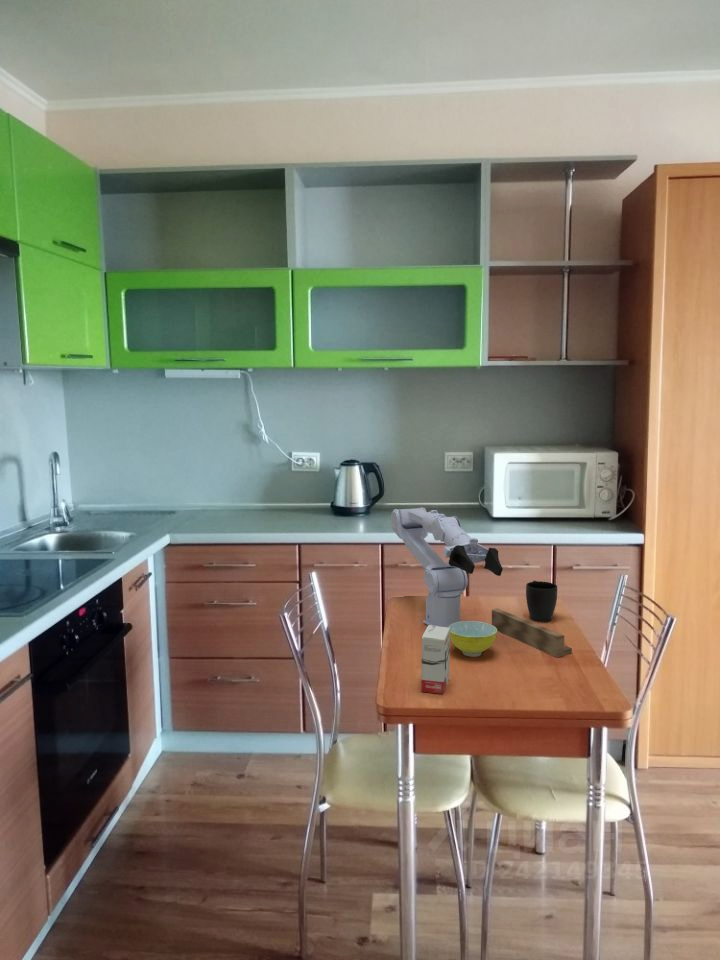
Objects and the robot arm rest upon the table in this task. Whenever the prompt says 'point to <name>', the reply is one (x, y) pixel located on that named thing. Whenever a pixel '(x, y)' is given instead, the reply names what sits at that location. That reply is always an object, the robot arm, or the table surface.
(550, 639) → the walnut wall
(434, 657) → the ink box
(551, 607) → the mug
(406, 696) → the table surface
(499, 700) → the table surface
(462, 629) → the bowl
